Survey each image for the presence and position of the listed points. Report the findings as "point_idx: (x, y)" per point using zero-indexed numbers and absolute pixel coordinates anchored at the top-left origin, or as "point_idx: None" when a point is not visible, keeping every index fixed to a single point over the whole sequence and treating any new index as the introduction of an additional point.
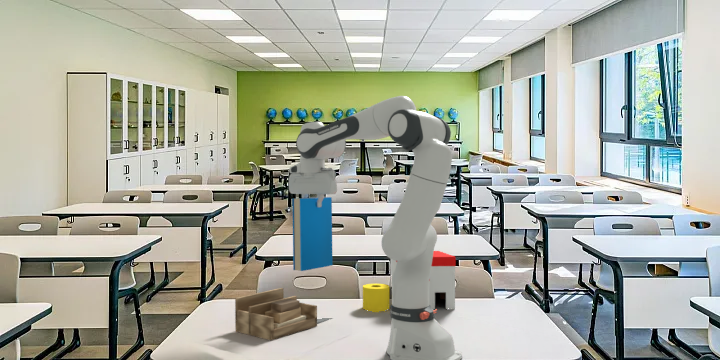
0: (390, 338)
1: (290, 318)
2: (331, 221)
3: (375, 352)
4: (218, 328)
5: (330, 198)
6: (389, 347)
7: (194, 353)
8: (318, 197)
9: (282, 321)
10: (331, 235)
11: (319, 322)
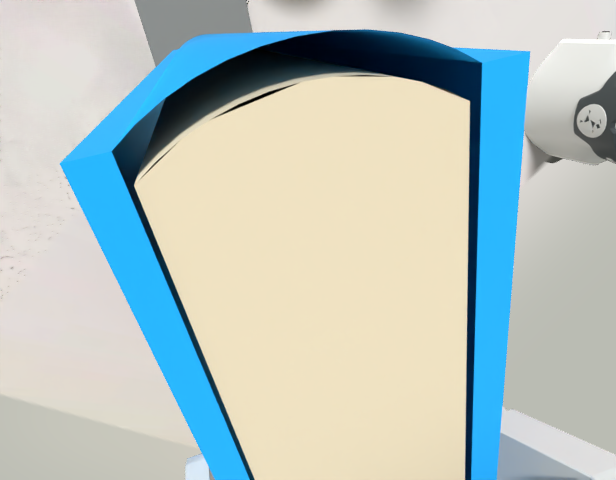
0: (557, 148)
1: None
2: (297, 49)
3: (523, 178)
4: (152, 361)
5: (495, 118)
6: (542, 147)
7: None
8: (206, 421)
9: None
10: (269, 49)
11: None
